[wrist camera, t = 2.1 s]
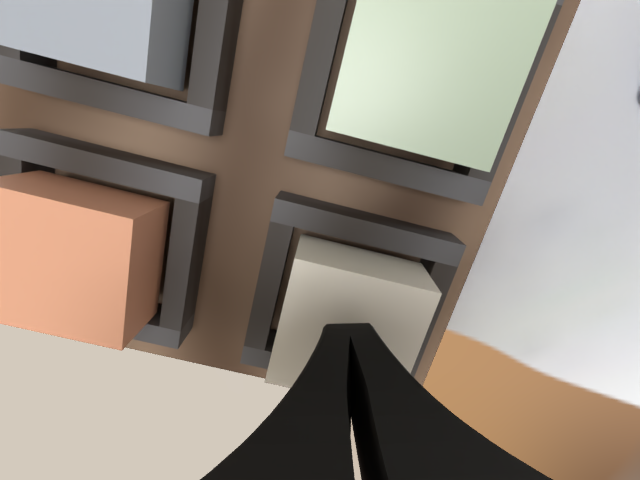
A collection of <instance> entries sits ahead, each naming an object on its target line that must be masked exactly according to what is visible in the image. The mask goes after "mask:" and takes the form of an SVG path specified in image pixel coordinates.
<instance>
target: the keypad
mask: <svg viewBox="0 0 640 480" xmlns="http://www.w3.org/2000/svg"><path fill="white" fill-rule="evenodd" d="M580 1H581V0H557V2H556V5H555V8H554V10H553V13H552V15H551V18H550V20H549V23H548V25H547V28H546V30H545V33H544V35H543V38H542V41H541V43H540V46H539V48H538V51H537V53H536V56H535V58H534V61H533V63H532V66H531V69H530V71H529V74H528V76H527V79H526V81H525V84H524V86H523V89H522V91H521V94H520V97H519V99H518V102H517V104H516V107H515V109H514V112H513V114H512V117H511V119H510V122H509V125H508V127H507V130H506V132H505V135H504V137H503V140H502V142H501V145H500V147H499V150H498V152H497V155H496V158H495V160H494V163H493V165H492V168H491V170H490V172H486V171H482V170H479V169H475V168H471V167H467V166H463V165H459V164H456V163H452V162H448V161H444V160H440V159H436V158H432V157H429V156H425V155H421V154H417V153H413V152H409V151H406V150H402V149H398V148H394V147H390V146H386V145H383V144H379V143H375V142H371V141H367V140H363V139H360V138H356V137H352V136H348V135H344V134H340V133H337V132H333V131H329V130H326V126H327V122H328V118H329V113H330V109H331V105H332V101H333V97H334V93H335V89H336V84H337V80H338V76H339V72H340V68H341V64H342V60H343V55H344V51H345V47H346V43H347V39H348V35H349V31H350V27H351V22H352V18H353V14H354V10H355V6H356V2H357V0H194V5H193V13H192V22H191V30H190V39H189V47H188V55H187V64H186V72H185V81H184V89H183V91H179V90H174V89H170V88H166V87H162V86H157V85H153V84H149V83H145V82H141V81H137V80H133V79H129V78H125V77H122V76H118V75H114V74H110V73H106V72H102V71H98V70H95V69H91V68H87V67H83V66H79V65H75V64H72V63H68V62H64V61H60V60H56V59H52V58H49V57H45V56H41V55H37V54H33V53H29V52H26V51H22V50H18V49H14V48H10V47H6V46H3V45H0V176H5V175H12V174H18V173H25V172H32V171H38V170H42V171H46V172H50V173H54V174H58V175H62V176H66V177H70V178H74V179H78V180H83V181H87V182H91V183H95V184H99V185H103V186H107V187H111V188H115V189H119V190H123V191H128V192H132V193H136V194H140V195H144V196H148V197H152V198H156V199H160V200H164V201H168V202H170V207H169V215H168V224H167V232H166V241H165V249H164V258H163V266H162V274H161V283H160V291H159V300H158V308H157V313H156V314H155V315H154V316H153V317H152V318H151V320H150V321H149V322H148V323H147V324H146V325H145V326H144V327H143V328H142V329H141V330H140V331H139V333H138V334H137V335H136V336H135V337H134V338H133V339H132V340H131V341H130V342H129V343H128V344H127V346H126V348H130V349H135V350H140V351H144V352H148V353H153V354H158V355H162V356H166V357H171V358H175V359H180V360H185V361H189V362H193V363H198V364H202V365H207V366H211V367H216V368H220V369H225V370H229V371H234V372H238V373H243V374H247V375H252V376H257V377H261V378H266V374H267V370H268V366H269V362H270V358H271V353H272V349H273V345H274V341H275V337H276V333H277V329H278V324H279V320H280V316H281V312H282V308H283V304H284V300H285V295H286V291H287V287H288V283H289V279H290V275H291V271H292V266H293V262H294V258H295V254H296V251H297V247H298V243H299V239H300V236H301V234H303V235H308V236H312V237H316V238H320V239H324V240H328V241H332V242H336V243H340V244H344V245H348V246H353V247H357V248H361V249H365V250H369V251H373V252H377V253H381V254H385V255H389V256H393V257H398V258H402V259H406V260H410V261H414V262H418V263H422V265H423V266H424V268H425V269H426V271H427V272H428V274H429V275H430V277H431V278H432V280H433V281H434V283H435V284H436V286H437V287H438V289H439V290H440V292H441V293H442V295H441V297H440V300H439V303H438V305H437V308H436V310H435V313H434V315H433V318H432V320H431V323H430V325H429V328H428V331H427V333H426V336H425V338H424V341H423V343H422V346H421V348H420V351H419V353H418V356H417V359H416V361H415V364H414V366H413V369H412V371H411V375H412V376H413V377H414V378H415V379H416V380H417V381H418V382H419V383H420V384H421V385H422V386H423V383H424V381H425V378H426V376H427V373H428V371H429V368H430V366H431V364H432V361H433V359H434V356H435V354H436V352H437V349H438V347H439V344H440V342H441V339H442V337H443V334H444V332H445V330H446V327H447V325H448V322H449V320H450V317H451V315H452V313H453V310H454V308H455V305H456V303H457V300H458V298H459V296H460V293H461V291H462V288H463V286H464V283H465V281H466V279H467V276H468V274H469V271H470V269H471V266H472V264H473V261H474V259H475V257H476V254H477V252H478V249H479V247H480V244H481V242H482V240H483V237H484V235H485V232H486V230H487V227H488V225H489V223H490V220H491V218H492V215H493V213H494V210H495V208H496V206H497V203H498V201H499V198H500V196H501V193H502V191H503V188H504V186H505V184H506V181H507V179H508V176H509V174H510V171H511V169H512V167H513V164H514V162H515V159H516V157H517V154H518V152H519V150H520V147H521V145H522V142H523V140H524V137H525V135H526V132H527V130H528V128H529V125H530V123H531V120H532V118H533V115H534V113H535V111H536V108H537V106H538V103H539V101H540V98H541V96H542V94H543V91H544V89H545V86H546V84H547V81H548V79H549V77H550V74H551V72H552V69H553V67H554V64H555V62H556V59H557V57H558V55H559V52H560V50H561V47H562V45H563V42H564V40H565V38H566V35H567V33H568V30H569V28H570V25H571V23H572V21H573V18H574V16H575V13H576V11H577V8H578V6H579V4H580Z"/></svg>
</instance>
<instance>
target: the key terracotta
mask: <svg viewBox="0 0 640 480" xmlns="http://www.w3.org/2000/svg"><path fill="white" fill-rule="evenodd" d="M169 207H170V202H168V201H164V200H160V199H156V198H152V197H148V196H144V195H140V194H136V193H132V192H128V191H123V190H119V189H115V188H111V187H107V186H103V185H99V184H95V183H91V182H87V181H83V180H78V179H74V178H70V177H66V176H62V175H58V174H54V173H50V172H46V171H42V170H38V171H32V172H25V173H18V174H12V175H5V176H0V324H4V325H9V326H13V327H17V328H22V329H27V330H31V331H36V332H40V333H45V334H50V335H54V336H58V337H63V338H67V339H72V340H77V341H81V342H86V343H90V344H95V345H99V346H103V347H108V348H112V349H117V350H123V349H124V348H125V347H126V346H127V344H128V343H129V342H130V341H131V340H132V339H133V338H134V337H135V336H136V335H137V334H138V333H139V331H140V330H141V329H142V328H143V327H144V326H145V325H146V324H147V323H148V322H149V321H150V320H151V318H152V317H153V316H154V315H155V314H156V313H157V308H158V300H159V291H160V283H161V274H162V266H163V258H164V249H165V241H166V232H167V224H168V215H169Z"/></svg>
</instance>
